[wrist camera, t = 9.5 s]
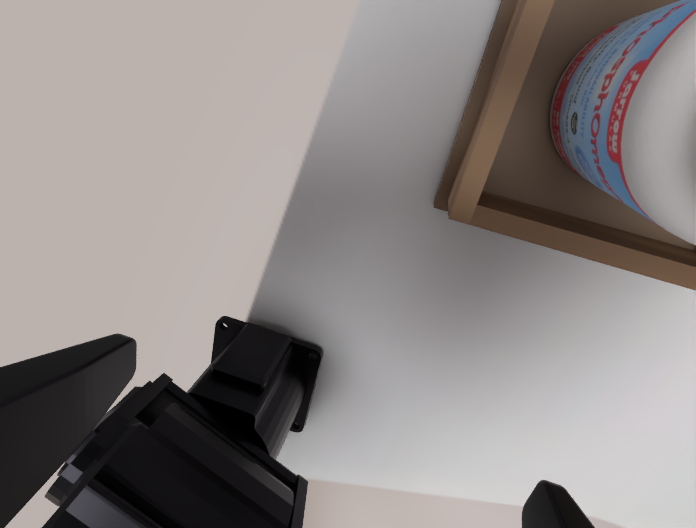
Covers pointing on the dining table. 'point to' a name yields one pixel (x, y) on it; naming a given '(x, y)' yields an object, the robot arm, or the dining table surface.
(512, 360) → the dining table surface
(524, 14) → the walnut socket
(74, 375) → the robot arm
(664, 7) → the pill bottle
